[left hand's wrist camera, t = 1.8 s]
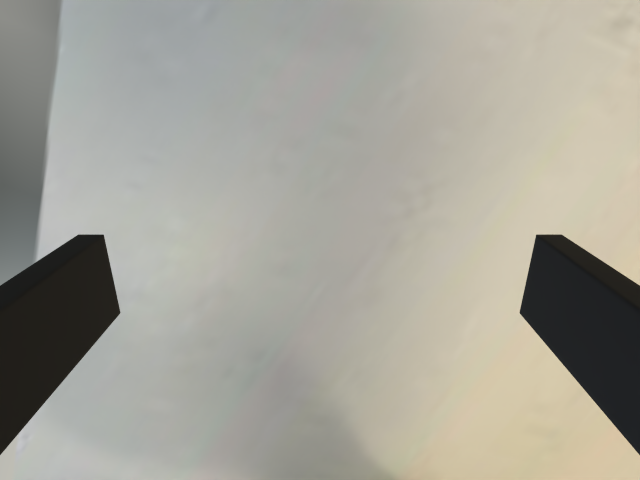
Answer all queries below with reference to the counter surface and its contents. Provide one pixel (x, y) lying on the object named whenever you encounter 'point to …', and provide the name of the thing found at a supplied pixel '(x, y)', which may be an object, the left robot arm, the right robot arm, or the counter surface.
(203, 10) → the counter surface
